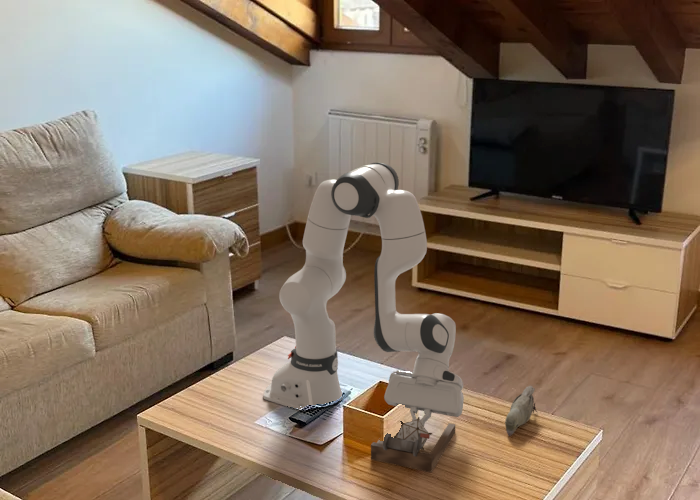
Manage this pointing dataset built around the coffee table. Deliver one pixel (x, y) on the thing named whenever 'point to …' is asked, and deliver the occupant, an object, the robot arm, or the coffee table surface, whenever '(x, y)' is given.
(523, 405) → the decorative bird
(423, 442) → the game die
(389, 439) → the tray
